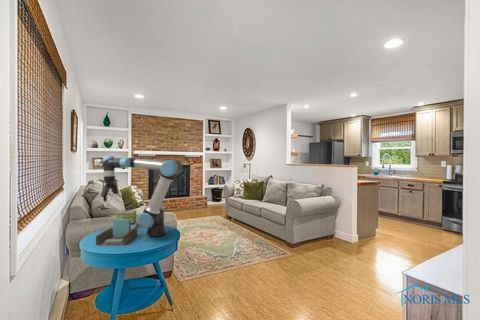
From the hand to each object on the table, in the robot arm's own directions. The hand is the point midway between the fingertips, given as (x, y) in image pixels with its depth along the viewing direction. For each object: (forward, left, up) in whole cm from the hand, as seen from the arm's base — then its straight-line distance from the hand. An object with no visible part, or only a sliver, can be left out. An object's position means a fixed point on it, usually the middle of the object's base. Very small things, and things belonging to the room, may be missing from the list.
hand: (110, 203), depth 185 cm
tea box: (+3, -31, -28) cm, 42 cm away
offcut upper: (-8, +11, -26) cm, 30 cm away
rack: (-8, +6, -28) cm, 29 cm away
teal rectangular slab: (-8, -1, -28) cm, 29 cm away
